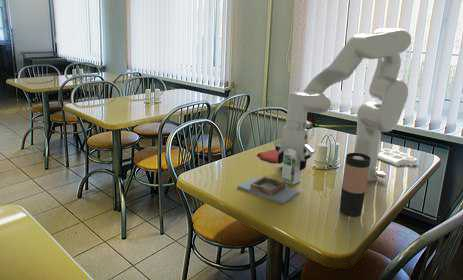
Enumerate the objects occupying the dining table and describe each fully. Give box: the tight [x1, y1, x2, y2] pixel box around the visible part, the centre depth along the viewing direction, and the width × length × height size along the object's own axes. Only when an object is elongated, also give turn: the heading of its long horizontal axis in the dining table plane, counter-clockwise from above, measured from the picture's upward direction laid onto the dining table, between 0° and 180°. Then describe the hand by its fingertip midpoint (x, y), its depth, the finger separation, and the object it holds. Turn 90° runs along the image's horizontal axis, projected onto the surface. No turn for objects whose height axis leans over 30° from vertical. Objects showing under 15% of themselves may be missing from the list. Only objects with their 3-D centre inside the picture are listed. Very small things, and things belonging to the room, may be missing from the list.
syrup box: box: [280, 149, 303, 186], centre depth 146 cm, size 6×6×14 cm
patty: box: [256, 149, 284, 164], centre depth 175 cm, size 18×14×2 cm
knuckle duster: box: [377, 148, 418, 167], centre depth 176 cm, size 3×18×15 cm
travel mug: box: [339, 152, 371, 218], centre depth 122 cm, size 8×8×20 cm
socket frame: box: [250, 176, 287, 196], centre depth 138 cm, size 10×10×2 cm
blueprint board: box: [237, 176, 300, 205], centre depth 138 cm, size 20×12×1 cm, turn 52°
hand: (291, 166), depth 146 cm, fingers open, 9 cm apart
